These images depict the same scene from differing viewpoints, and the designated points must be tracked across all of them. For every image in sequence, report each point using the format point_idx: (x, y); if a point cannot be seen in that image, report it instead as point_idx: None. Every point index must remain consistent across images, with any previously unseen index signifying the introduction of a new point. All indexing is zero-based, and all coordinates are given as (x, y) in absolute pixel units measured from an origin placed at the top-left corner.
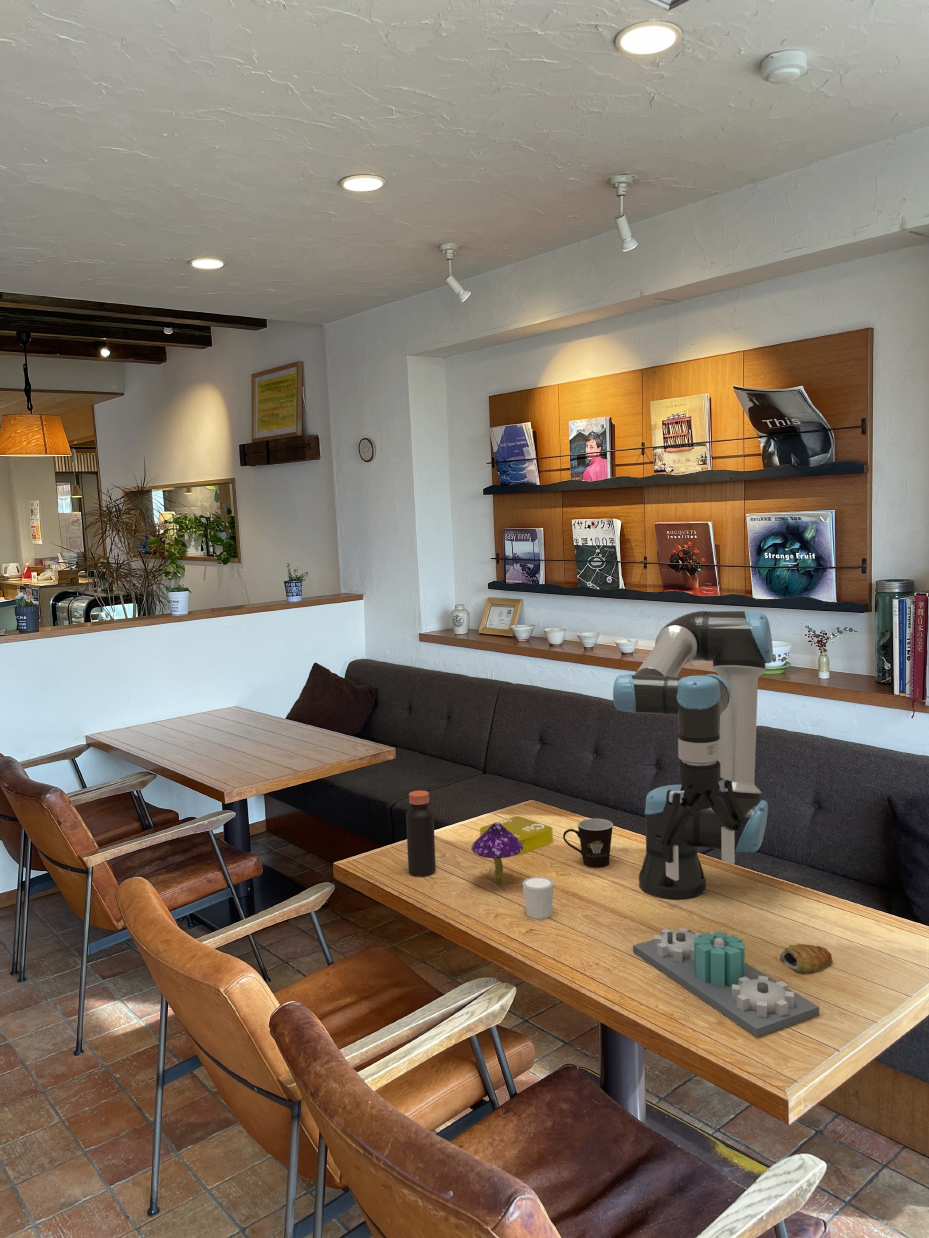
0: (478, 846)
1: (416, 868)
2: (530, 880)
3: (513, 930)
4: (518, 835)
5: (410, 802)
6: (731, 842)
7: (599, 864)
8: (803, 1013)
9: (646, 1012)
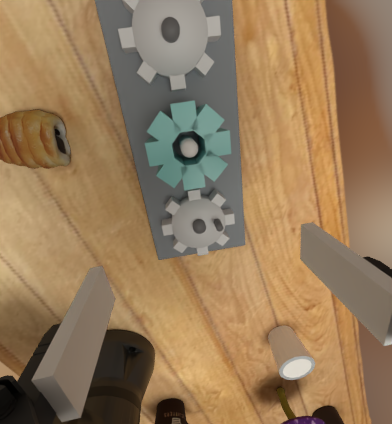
0: None
1: (338, 415)
2: (300, 374)
3: (322, 311)
4: None
5: None
6: (76, 324)
7: (172, 402)
8: None
9: (315, 105)
